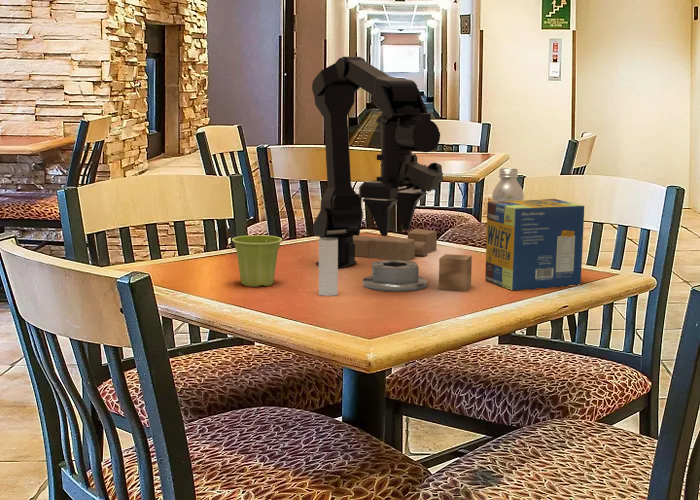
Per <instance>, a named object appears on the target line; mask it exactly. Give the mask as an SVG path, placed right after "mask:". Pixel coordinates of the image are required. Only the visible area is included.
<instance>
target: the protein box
mask: <svg viewBox="0 0 700 500" xmlns="http://www.w3.org/2000/svg"><path fill="white" fill-rule="evenodd" d="M486 210H487V211H486V239H485V240H486V245H485V246H486V247H485V273H484V274H485V281H486V282H488V283H491V284H493V283H494V285H496V284H497V285H496V286H498V285H499V286H500V287H501V286H502V287H501V288H503V287H505V288H504V289H506V288H507V289H506V290H508V289H510V290H509V291H511V290H516V291H523V290H522V289H530V290H537V289H536V288H544V289H551V288H550V287H556V288H562V287H561V286H569V285H578V284H581V285H582V266H583V265H582V263H583V246H584V245H583V243H584V224H585V222H584V220H585V205H583V204H577V203H574V202H570V201H566V200H561V199H556V198H546V199H545V198H544V199H523V200H521V201H498V202H493V201H487V207H486ZM499 286H498V287H499ZM569 287H570V286H569Z"/></svg>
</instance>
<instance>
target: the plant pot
mask: <svg viewBox="0 0 700 500" xmlns="http://www.w3.org/2000/svg"><path fill="white" fill-rule="evenodd" d="M231 241H232V242H233V244H234V249H235V250H236V257H237V263H238V269H239V278H240V283H241V284H243V285H242V286H246V287H253V288H256V287H257V288H258V287H260V286H265V287H269V286H272V285H273V284H274V281H275V274H276V273H275V272H276V266H277V258H278V251H279V249H280V247H281V242H282V241H283V238H282V237H279V236H275V235H267V234H266V235H265V234H260V235H258V234H254V235H252V234H251V235H240V236H235V237H232V239H231Z"/></svg>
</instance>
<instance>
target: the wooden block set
mask: <svg viewBox="0 0 700 500" xmlns="http://www.w3.org/2000/svg"><path fill="white" fill-rule="evenodd" d="M437 233H438V230H432V229H431V230H429V229H422V228H414V229H412V230H410V231H409V232H407V238H403V237H389V236H379V235H378V236H366V235H358V236H356V235H353V243H355V257H359V258H368V259H375V260H382V261H386V260H401V261H412V260H415V257H427V255H428V254H430V253H432V252H436V251H437V246H438V245H437V238H438V234H437Z"/></svg>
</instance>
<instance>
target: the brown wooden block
mask: <svg viewBox="0 0 700 500" xmlns="http://www.w3.org/2000/svg"><path fill="white" fill-rule="evenodd" d="M472 257H473V255H465V254H453V253H452V254H451V253H450V254H448V253H445V254H444V255H442V256H441V257H439V258H438V259H439V261H438V263H439V264H438V291H444V292H445V291H446V292H461V293H466V292H468V290H469V289H470V288H471V287H472V267H473V266H472V264H473V263H472V262H473V261H472V260H473V258H472Z"/></svg>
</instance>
